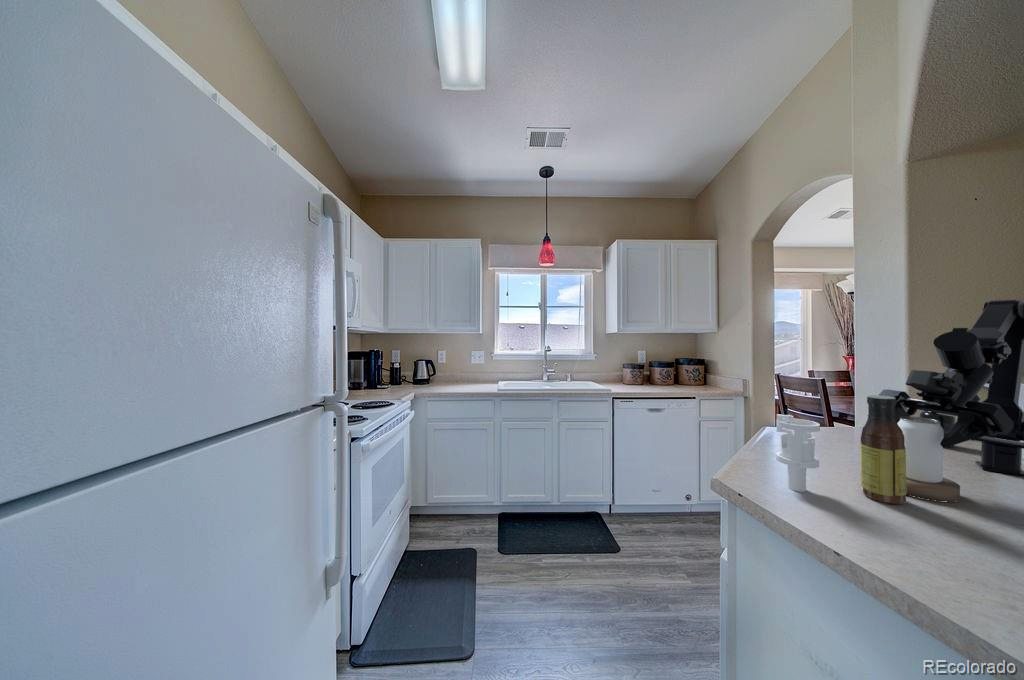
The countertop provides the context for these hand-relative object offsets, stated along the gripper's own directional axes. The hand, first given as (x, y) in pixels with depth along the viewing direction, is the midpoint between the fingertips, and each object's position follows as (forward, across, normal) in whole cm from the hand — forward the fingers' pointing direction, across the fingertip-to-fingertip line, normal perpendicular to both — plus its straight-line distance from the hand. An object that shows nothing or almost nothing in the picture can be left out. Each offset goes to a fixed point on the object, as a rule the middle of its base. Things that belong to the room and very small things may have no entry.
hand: (913, 439), depth 75 cm
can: (+5, 0, +7) cm, 8 cm away
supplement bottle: (-24, -25, +39) cm, 52 cm away
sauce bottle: (+15, +2, 0) cm, 15 cm away
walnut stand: (+6, 0, +8) cm, 11 cm away
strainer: (+24, -4, -8) cm, 25 cm away
